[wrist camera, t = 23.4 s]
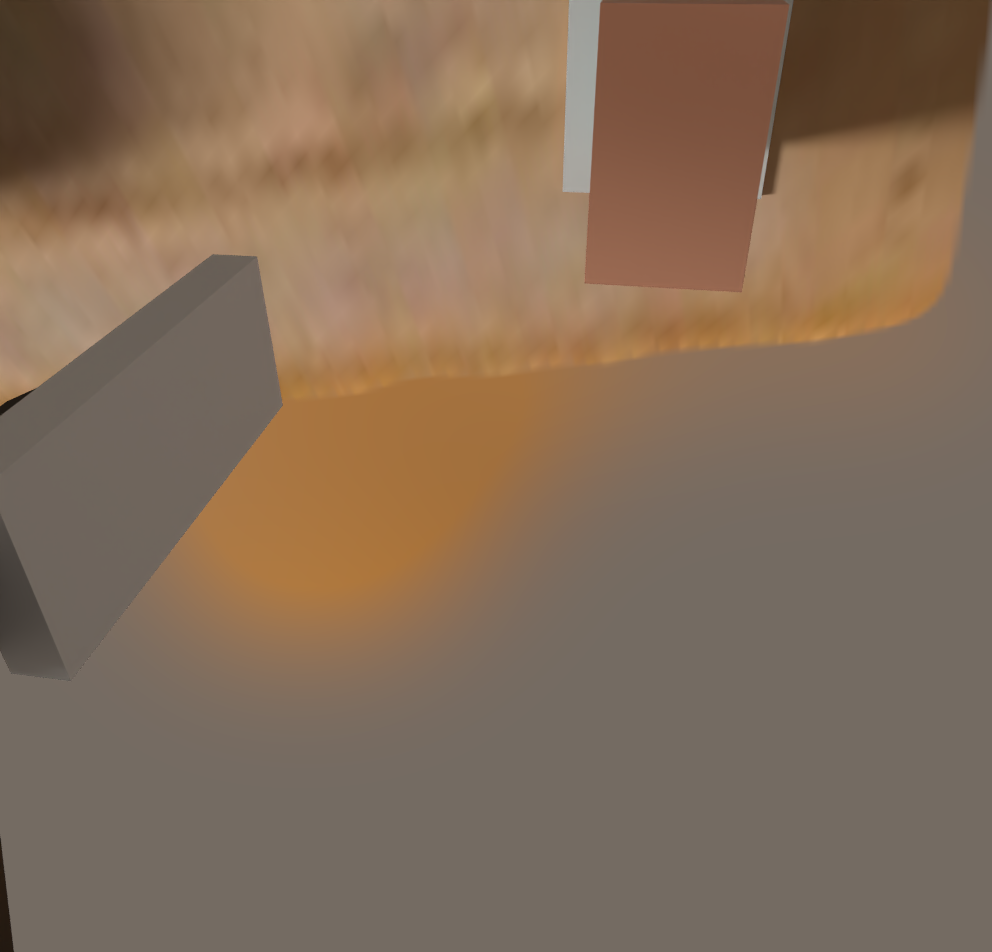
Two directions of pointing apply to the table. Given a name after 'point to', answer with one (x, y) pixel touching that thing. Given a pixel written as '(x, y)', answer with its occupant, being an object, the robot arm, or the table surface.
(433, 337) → the table surface
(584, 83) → the baseplate
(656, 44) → the terracotta brick
